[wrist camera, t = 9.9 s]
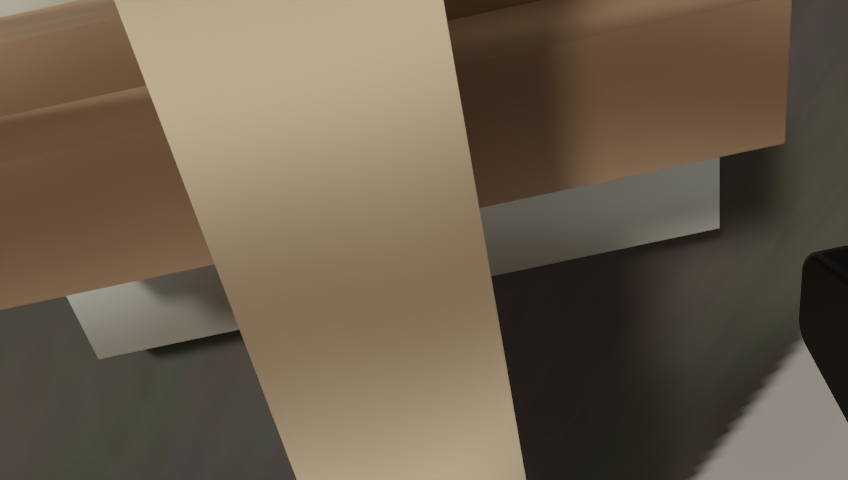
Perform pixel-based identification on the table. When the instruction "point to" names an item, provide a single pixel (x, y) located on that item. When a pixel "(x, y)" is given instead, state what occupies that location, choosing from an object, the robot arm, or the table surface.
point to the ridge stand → (485, 127)
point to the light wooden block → (341, 225)
